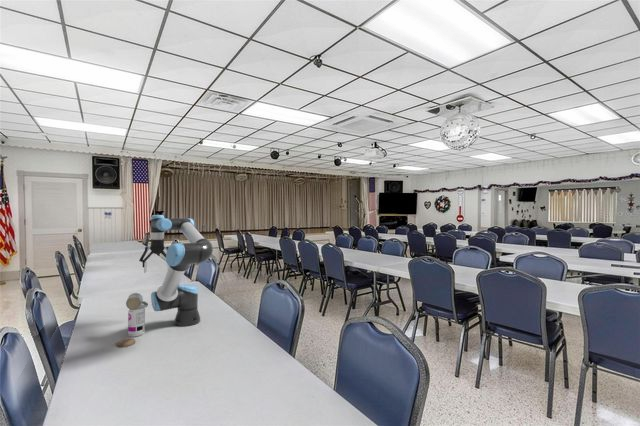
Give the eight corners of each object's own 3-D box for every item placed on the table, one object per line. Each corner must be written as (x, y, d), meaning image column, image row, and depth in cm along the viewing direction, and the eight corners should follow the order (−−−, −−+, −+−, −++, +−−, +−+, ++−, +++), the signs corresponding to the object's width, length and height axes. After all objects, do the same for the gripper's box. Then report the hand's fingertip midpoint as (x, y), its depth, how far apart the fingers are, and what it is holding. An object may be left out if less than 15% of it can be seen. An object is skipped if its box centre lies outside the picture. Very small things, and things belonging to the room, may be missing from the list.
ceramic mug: (125, 310, 172) (125, 296, 172) (127, 306, 180) (127, 293, 180) (147, 309, 177) (147, 295, 177) (148, 305, 184) (148, 291, 184)
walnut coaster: (138, 339, 171) (138, 337, 171) (131, 346, 162) (131, 344, 162) (119, 341, 169) (119, 339, 169) (112, 348, 160) (112, 346, 160)
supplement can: (127, 338, 173) (127, 310, 173) (128, 333, 180) (128, 306, 180) (144, 335, 176) (144, 308, 176) (145, 330, 184) (145, 305, 184)
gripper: (179, 238, 209) (179, 270, 209) (138, 238, 203) (137, 271, 203) (177, 239, 202) (176, 272, 202) (133, 239, 196) (133, 273, 196)
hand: (157, 272), depth 202 cm, fingers open, 13 cm apart
